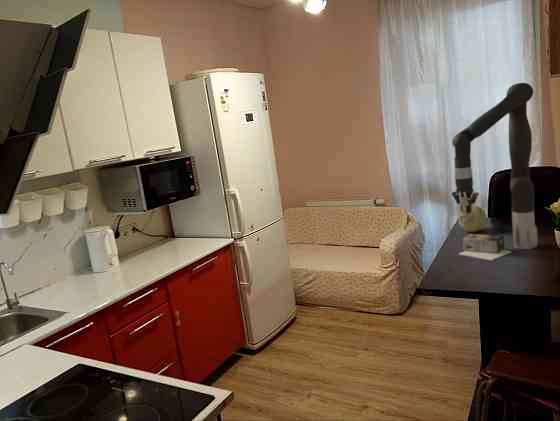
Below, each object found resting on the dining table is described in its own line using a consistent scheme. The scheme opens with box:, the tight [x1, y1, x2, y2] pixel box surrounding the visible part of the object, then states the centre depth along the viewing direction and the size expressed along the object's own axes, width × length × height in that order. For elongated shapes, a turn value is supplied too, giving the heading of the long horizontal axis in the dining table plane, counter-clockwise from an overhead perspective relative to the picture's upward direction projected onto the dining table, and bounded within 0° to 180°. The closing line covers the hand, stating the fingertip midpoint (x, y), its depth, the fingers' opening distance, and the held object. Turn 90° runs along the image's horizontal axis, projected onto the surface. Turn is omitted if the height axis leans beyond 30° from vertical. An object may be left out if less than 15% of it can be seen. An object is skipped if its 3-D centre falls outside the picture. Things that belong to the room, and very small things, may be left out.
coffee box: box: [462, 233, 505, 253], centre depth 217 cm, size 9×6×16 cm
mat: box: [458, 249, 512, 261], centre depth 213 cm, size 17×15×1 cm
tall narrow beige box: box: [460, 197, 475, 226], centre depth 217 cm, size 2×8×13 cm, turn 122°
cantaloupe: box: [458, 204, 488, 233], centre depth 250 cm, size 15×15×15 cm
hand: (466, 212), depth 217 cm, fingers closed on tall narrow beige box, 2 cm apart
